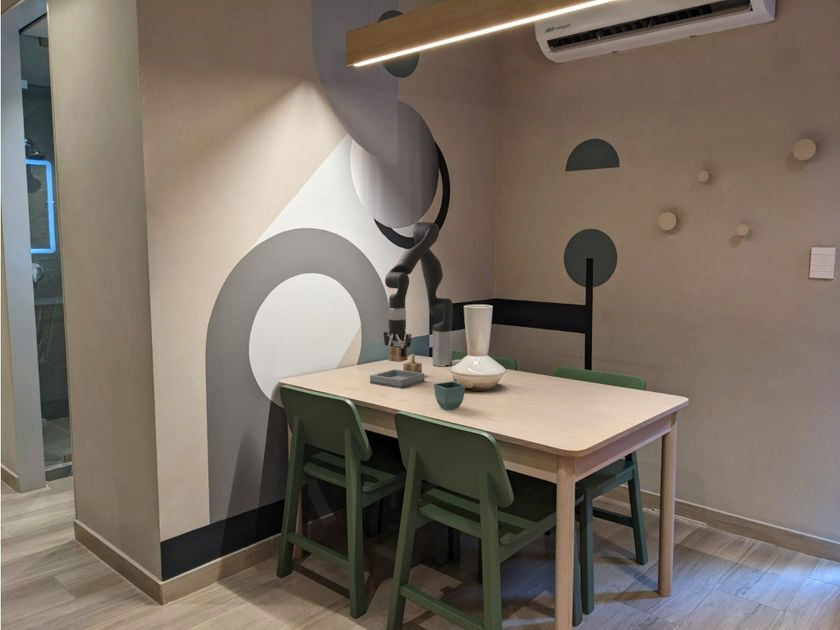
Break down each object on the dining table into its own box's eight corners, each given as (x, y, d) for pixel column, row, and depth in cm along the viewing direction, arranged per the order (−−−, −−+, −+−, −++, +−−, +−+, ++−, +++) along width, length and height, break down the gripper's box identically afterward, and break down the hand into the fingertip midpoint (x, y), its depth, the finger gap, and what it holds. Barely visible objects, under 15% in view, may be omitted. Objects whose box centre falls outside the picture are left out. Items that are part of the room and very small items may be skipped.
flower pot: (465, 409, 254) (465, 385, 253) (445, 412, 250) (445, 388, 248) (453, 404, 261) (453, 381, 260) (433, 407, 257) (433, 383, 256)
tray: (394, 376, 311) (393, 369, 311) (424, 381, 302) (424, 373, 301) (370, 383, 298) (370, 375, 297) (401, 388, 288) (401, 380, 288)
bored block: (396, 358, 303) (396, 345, 302) (407, 359, 299) (407, 346, 299) (388, 360, 298) (388, 347, 297) (399, 362, 295) (399, 348, 294)
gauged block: (411, 374, 316) (411, 353, 315) (421, 375, 313) (421, 354, 312) (403, 376, 311) (403, 354, 310) (414, 378, 308) (413, 356, 307)
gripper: (415, 318, 295) (415, 356, 297) (389, 316, 304) (389, 353, 305) (405, 320, 289) (405, 359, 291) (378, 317, 297) (379, 355, 299)
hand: (397, 356), depth 298 cm, fingers closed on bored block, 6 cm apart
